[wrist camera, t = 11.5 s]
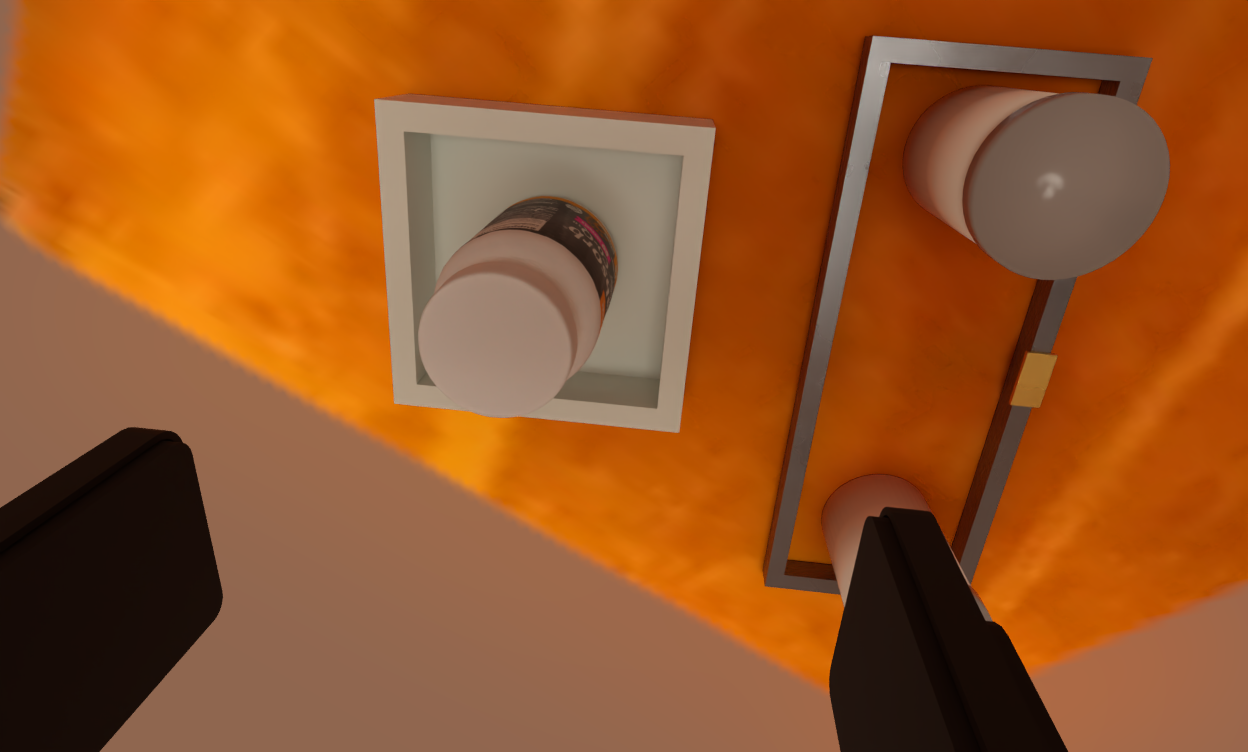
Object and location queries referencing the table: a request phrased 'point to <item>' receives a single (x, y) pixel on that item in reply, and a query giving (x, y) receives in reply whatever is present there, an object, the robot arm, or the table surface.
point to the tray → (567, 167)
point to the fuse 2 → (1039, 175)
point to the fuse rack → (1034, 341)
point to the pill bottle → (519, 307)
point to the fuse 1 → (851, 511)
